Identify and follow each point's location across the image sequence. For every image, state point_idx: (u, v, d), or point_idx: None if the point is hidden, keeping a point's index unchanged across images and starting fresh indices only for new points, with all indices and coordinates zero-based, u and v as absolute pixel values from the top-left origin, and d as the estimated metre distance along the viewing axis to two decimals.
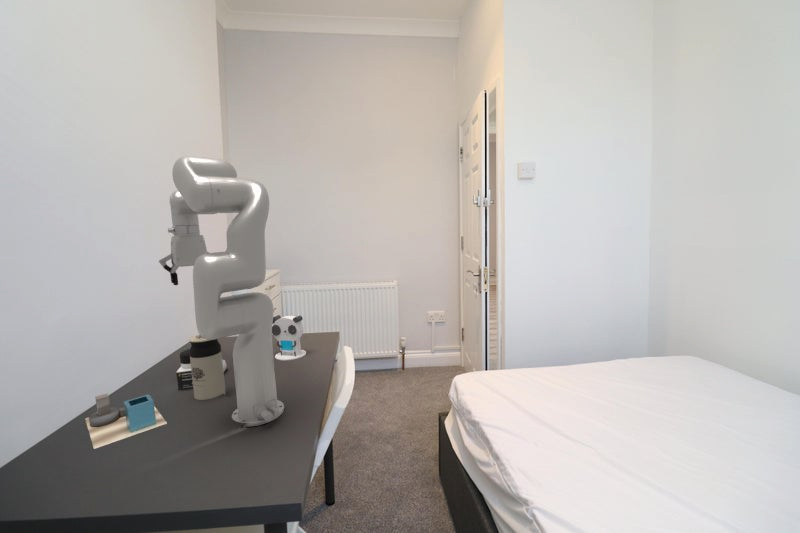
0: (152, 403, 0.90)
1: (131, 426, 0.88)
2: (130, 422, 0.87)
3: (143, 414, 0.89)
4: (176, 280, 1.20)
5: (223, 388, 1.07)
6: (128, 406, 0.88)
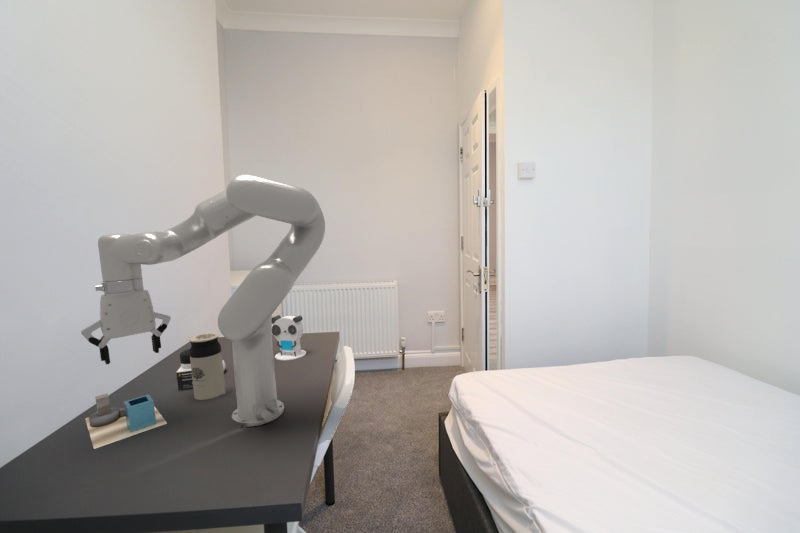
0: (152, 403, 0.90)
1: (131, 426, 0.88)
2: (130, 422, 0.87)
3: (143, 414, 0.89)
4: (107, 357, 0.85)
5: (223, 388, 1.07)
6: (128, 406, 0.88)
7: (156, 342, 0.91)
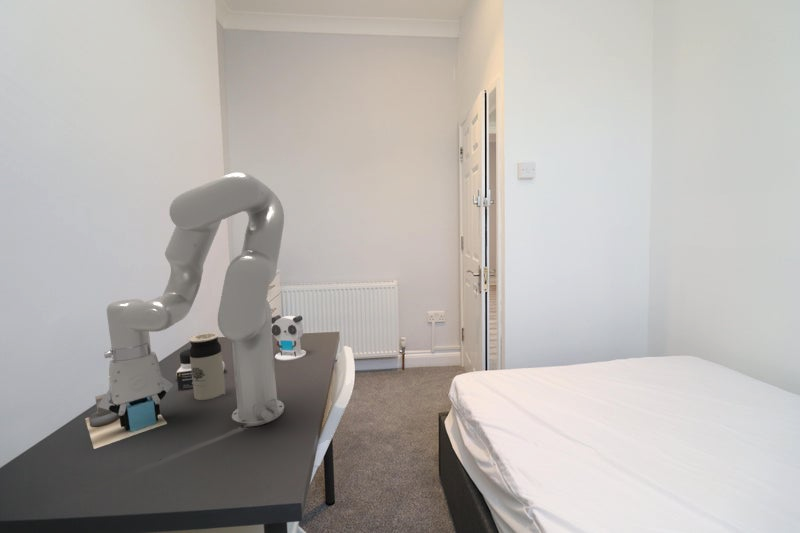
0: (152, 403, 0.90)
1: (131, 426, 0.88)
2: (130, 422, 0.87)
3: (143, 414, 0.89)
4: (126, 424, 0.88)
5: (223, 388, 1.07)
6: (128, 406, 0.88)
7: (155, 410, 0.92)
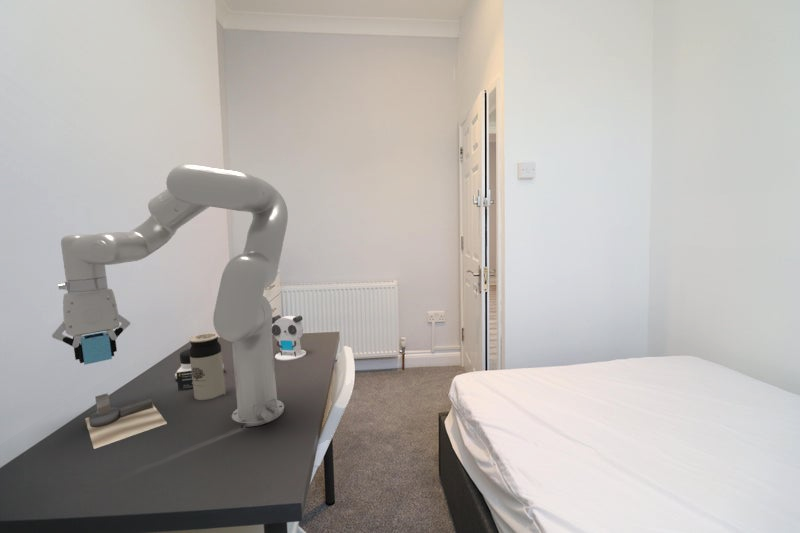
0: (107, 338, 0.91)
1: (85, 358, 0.88)
2: (84, 354, 0.88)
3: (98, 348, 0.90)
4: (81, 356, 0.89)
5: (223, 388, 1.07)
6: (82, 339, 0.89)
7: (111, 346, 0.93)
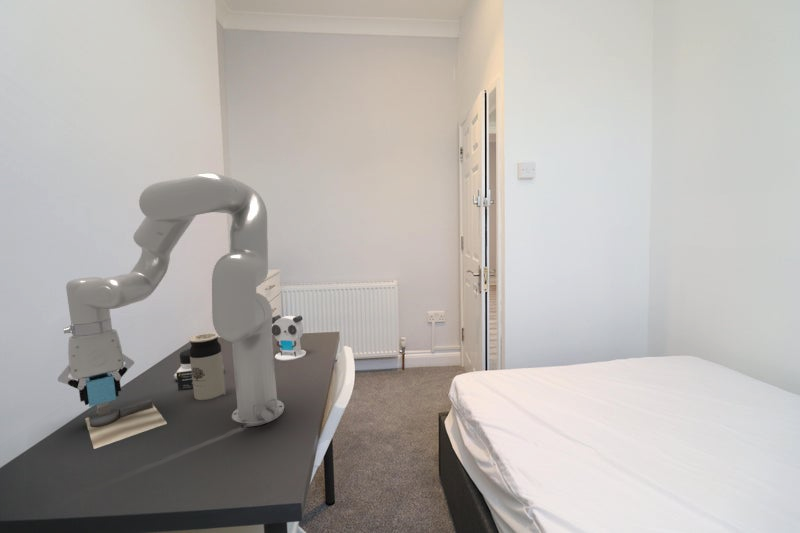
0: (112, 379, 0.92)
1: (90, 400, 0.90)
2: (89, 396, 0.89)
3: (102, 389, 0.91)
4: (86, 398, 0.90)
5: (223, 388, 1.07)
6: (87, 381, 0.90)
7: (115, 386, 0.94)
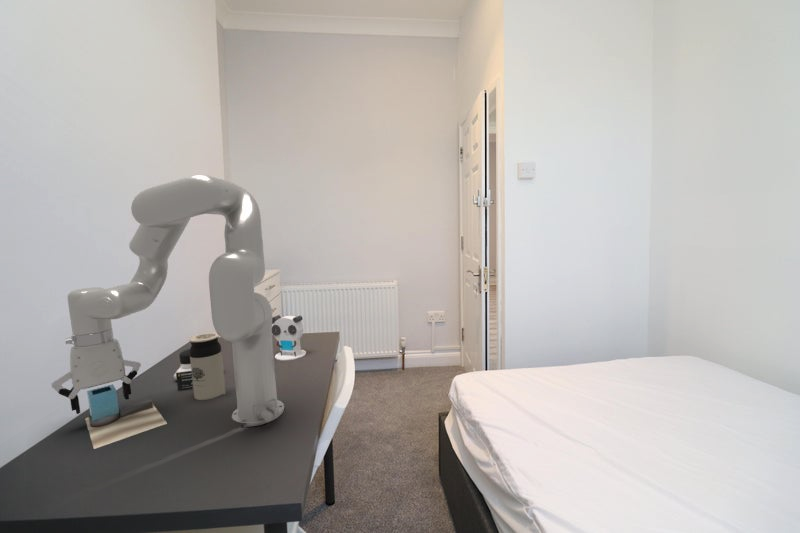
0: (115, 392, 0.93)
1: (93, 414, 0.90)
2: (92, 411, 0.90)
3: (105, 403, 0.92)
4: (77, 407, 0.89)
5: (223, 388, 1.07)
6: (90, 395, 0.90)
7: (126, 389, 0.95)
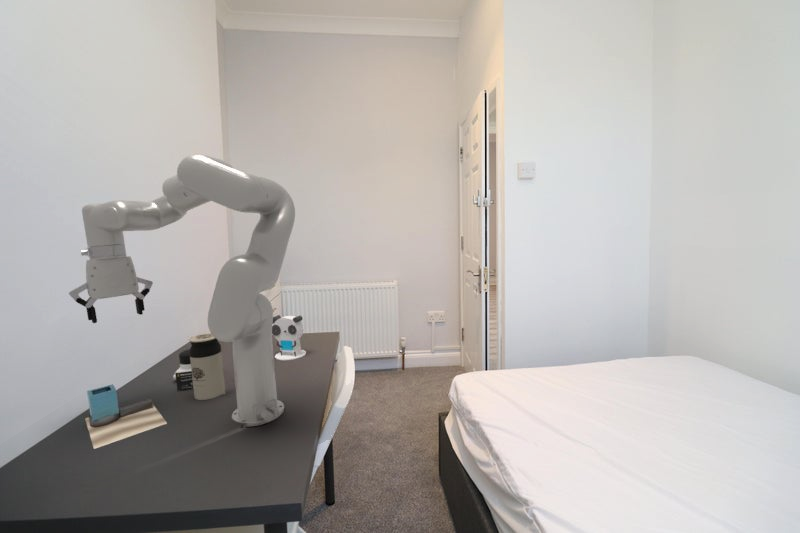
0: (115, 392, 0.93)
1: (93, 414, 0.90)
2: (92, 411, 0.90)
3: (105, 403, 0.92)
4: (94, 317, 0.92)
5: (223, 388, 1.07)
6: (90, 395, 0.90)
7: (140, 304, 0.99)
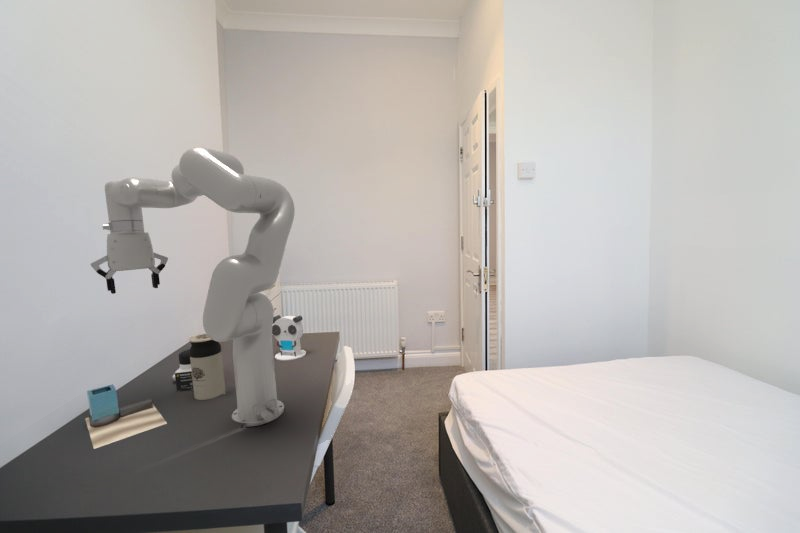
0: (115, 392, 0.93)
1: (93, 414, 0.90)
2: (92, 411, 0.90)
3: (105, 403, 0.92)
4: (113, 287, 0.98)
5: (223, 388, 1.07)
6: (90, 395, 0.90)
7: (155, 278, 1.05)
